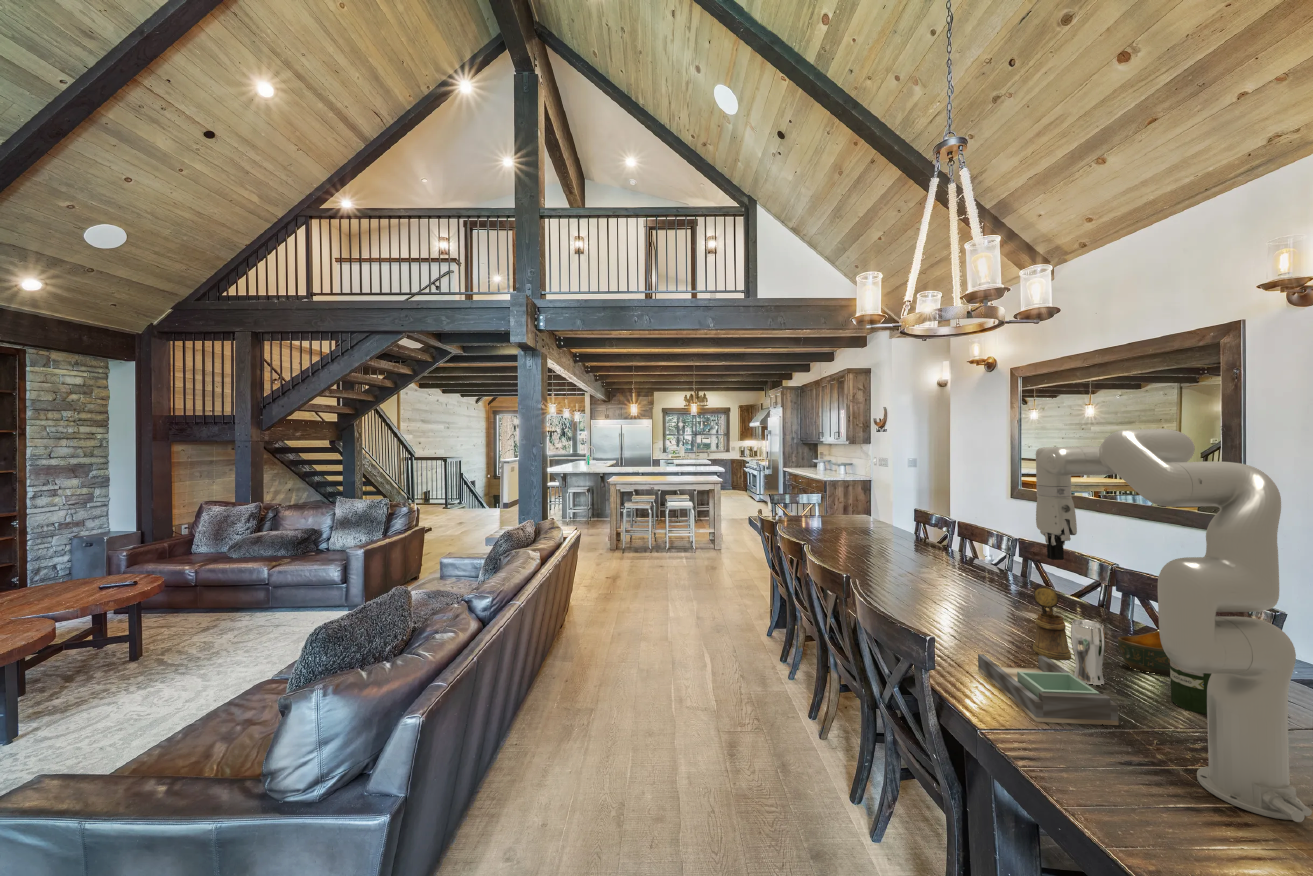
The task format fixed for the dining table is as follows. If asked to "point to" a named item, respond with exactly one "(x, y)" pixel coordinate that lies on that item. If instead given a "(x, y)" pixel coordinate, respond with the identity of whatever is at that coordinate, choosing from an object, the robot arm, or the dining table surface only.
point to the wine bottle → (1189, 689)
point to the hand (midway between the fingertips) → (1055, 559)
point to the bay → (1050, 696)
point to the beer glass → (1088, 650)
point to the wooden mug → (1050, 627)
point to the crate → (1053, 683)
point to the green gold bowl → (1145, 653)
